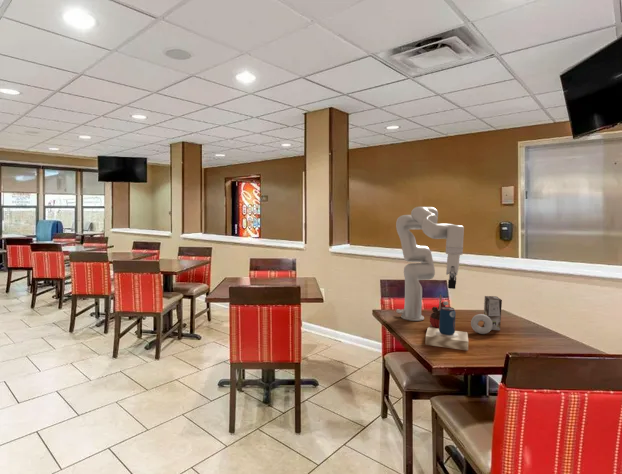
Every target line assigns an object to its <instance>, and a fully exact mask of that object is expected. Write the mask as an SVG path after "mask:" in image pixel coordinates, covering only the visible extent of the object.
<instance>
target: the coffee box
mask: <svg viewBox="0 0 622 474" xmlns="http://www.w3.org/2000/svg"><path fill="white" fill-rule="evenodd" d="M502 300H503V299H501V298H499V297H498V296H494V295H491V296H490V295H484V303H483V315H486V316H488V317H489V318H490V319H491V321H492V324H493V326H492V329H491V331H492V330H493V331H501V323H502V321H501V320H502V303H503V301H502ZM484 326H485V322H484V321H483V327H484Z"/></svg>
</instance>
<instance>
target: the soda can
mask: <svg viewBox="0 0 622 474" xmlns="http://www.w3.org/2000/svg"><path fill="white" fill-rule="evenodd" d="M456 313H457V312H456V310H455V308H454V307H451V306H445V307H441V310H440V319H439V331H440V333H441V334H443V335H449V336H450V335H453V334H454V333H455V331H456Z"/></svg>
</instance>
